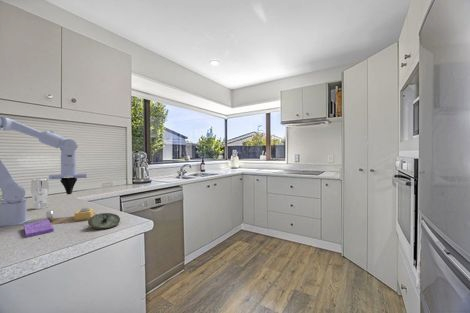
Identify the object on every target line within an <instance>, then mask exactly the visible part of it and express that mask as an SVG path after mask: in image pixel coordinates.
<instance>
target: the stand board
mask: <svg viewBox="0 0 470 313" xmlns="http://www.w3.org/2000/svg"><path fill="white" fill-rule="evenodd" d="M89 209H90V207H83V208H80V209H79V210H80V212H88V211H89ZM97 214H98V213H94V215H97ZM47 219H48V220H49V221H50V223H51V225H52V226H53V225H60V224H70V223H80V222H88V220H89V219H86V220H76V221H75V218H74V215H73V216H65V217H55V218H54V211H53V210H50V211H49V210H48V211H46V218H45V219H44V220H47Z"/></svg>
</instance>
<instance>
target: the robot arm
mask: <svg viewBox="0 0 470 313" xmlns="http://www.w3.org/2000/svg"><path fill="white" fill-rule="evenodd" d="M1 129H2V131H14V132H19V133H22V134H25V135H27V136H30V137H33V138H36V139H38V141H39V143H40V144H44V145H46V146H49V147H52V148H55V149H60V154H61V155H60V174H49V175H48V181H50V180H59V181H60V183H61V185H62V186H63V188H64V190H65V193H66V195H72V194H73V189H74V187H75V184H76V182H77V181H78V179H87V178H89V175H88V174H89V173H77V154H76V153H77V151H76V150H77V149H78V144H77V142H76V141H75V140H73V139H70V138H67V136H62V135H59V134H57V133H55V131H53V130H50V131H49V130H45V131H44V130H43V131H40V130H38V129H36V128H33V127H31V126H29V125H26V124H23V123H21V122H19V121H16V120H14V119H12V118H8V117H5V116H1V115H0V130H1ZM0 190H1V192H2V193H1V197H2V199H3V200H1V201H0V227H3V226H12V225H13V226H14V225H22V224H25V222H28V221H29V220H32V218H28V212H27V211H28V208H27V206H28V205H27V204H28V202H27V198H25V196H26V190H25V188H24V187H23V186H22V185H21V184H18V183H17V181H16V180H15V179H14V178H13V176H12V174H11V173H10V171H9V170H8V168H7V166H6V165H5V164H4V162H3V160H2V159H1V158H0Z"/></svg>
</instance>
